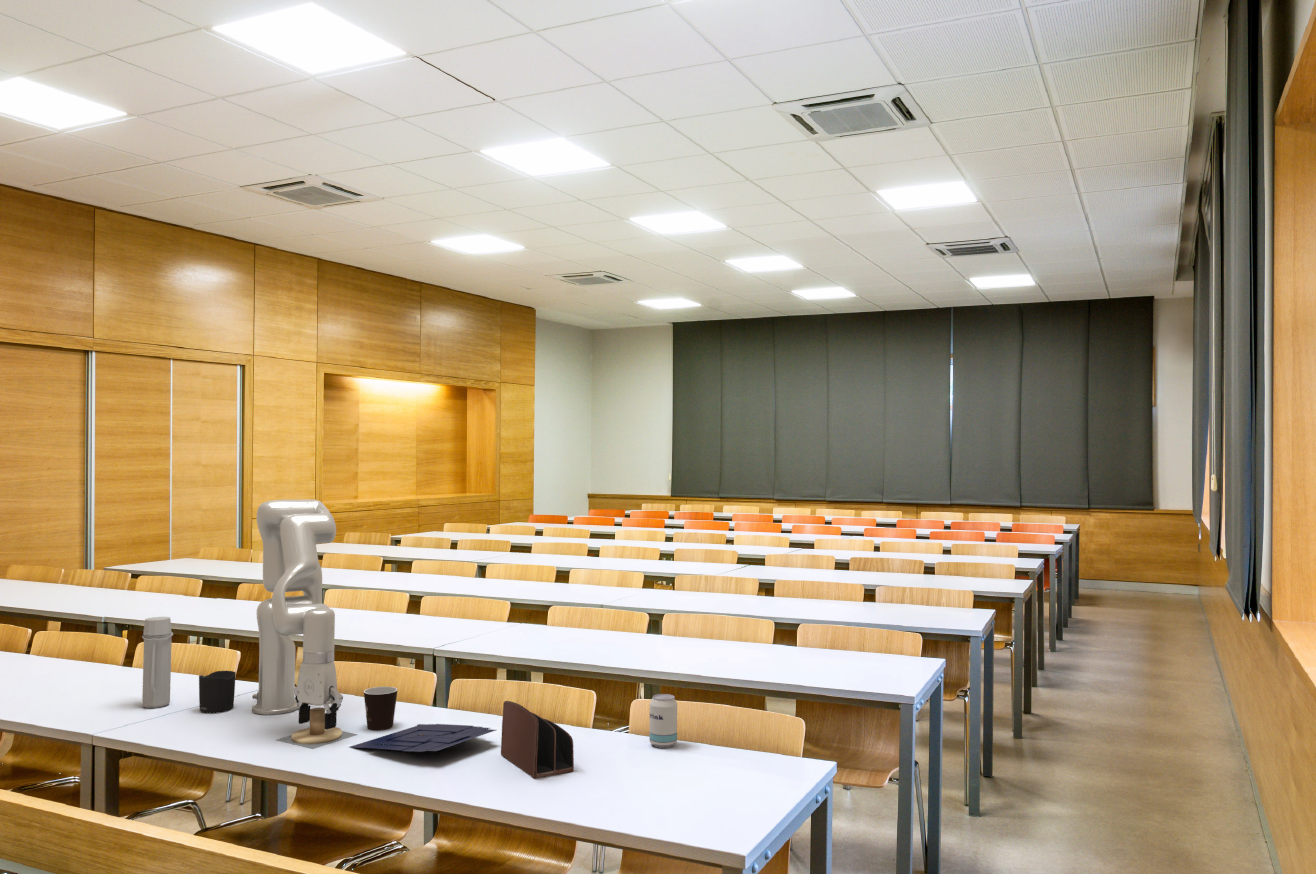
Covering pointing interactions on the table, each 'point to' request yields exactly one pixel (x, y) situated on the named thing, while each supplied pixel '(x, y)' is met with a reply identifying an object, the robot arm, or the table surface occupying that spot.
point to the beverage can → (663, 721)
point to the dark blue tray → (426, 737)
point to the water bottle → (156, 662)
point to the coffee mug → (380, 707)
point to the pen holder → (217, 691)
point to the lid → (316, 730)
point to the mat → (313, 746)
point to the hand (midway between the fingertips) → (317, 725)
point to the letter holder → (535, 743)
